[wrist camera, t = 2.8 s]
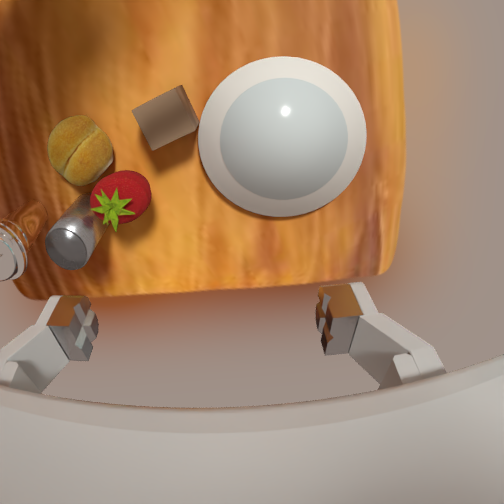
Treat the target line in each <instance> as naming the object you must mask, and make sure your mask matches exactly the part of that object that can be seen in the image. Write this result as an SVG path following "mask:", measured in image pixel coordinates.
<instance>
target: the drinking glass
mask: <svg viewBox="0 0 504 504" xmlns="http://www.w3.org/2000/svg"><path fill="white" fill-rule="evenodd" d="M91 194H92V193H84V194H82V195H80V196H79V197H78V198H77V199H76V200H75V201H74V202H73V204H72V205H71V206H70V207H69V208H68V209H67V210H66V212H65V213H64V214H63V215H62V216H61V217H60V219H59V220H58V221H57V222H56V223H55V225H54V226H53V227H52V228H51V229H50V231H49V232H48V233H47V235H46V239H45V245H46V250H47V253H48V255H49V256H50V258H51V259H52V260H53V261H54V262H55V263H56V264H57V265H58V266H60V267H62V268H64V269H68V270H76V269H80V268H82V267H83V266H84V265H85V264H86V263H87V261H88V259H89V258H90V256H91V254H92V252H93V251H94V249H95V247H96V245H97V244H98V242H99V240H100V239H101V237H102V235H103V234H104V232H105V230H106V229H107V227H108V225H109V224H110V223H108V225H107V223H105V224H104V225H103V220H101V219H99V218H98V217H97V216H96V215H95V214H94V213H93V211H92V210H90V209H91V206H90V197H91Z"/></svg>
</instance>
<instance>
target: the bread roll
mask: <svg viewBox="0 0 504 504" xmlns="http://www.w3.org/2000/svg"><path fill="white" fill-rule="evenodd" d="M47 151H48V156H49V160H50V162H51V165H52V166H53V168H54V169H55V170H56V171H57V172H58V173H59V174H61V175H62V176H63V177H64V178H66V180H67V181H69V182H70V183H72V184H74V185H77V186H85V185H87V184H89V183H91V182H94V181H96V180H97V179H98V178H99V177H100V176H101V175H102V174H103V173H104V171H105V170H107V168H108V167H109V165H110V164H111V163H112V162H113V147H112V143H111V141H110V139H109V138H108V136H107V135H106V134H105V133H104V132H103V131H102V130H101V129H100V128H99V127H98V126H97V125H96V124H95V123H94V121H93V120H92V119H91V118H89V117H88V116H85V115H76V116H71V117H68V118H66V119H64V120H62V121H61V122H59V123H58V124H57V125H56V127H55V128H54V129H53V131H52V132H51V134H50V136H49V140H48V145H47Z"/></svg>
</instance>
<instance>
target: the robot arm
mask: <svg viewBox="0 0 504 504" xmlns="http://www.w3.org/2000/svg"><path fill="white" fill-rule="evenodd" d="M318 297H319V301H320V302H319V303H318V304H317V305H316V324H317V329H318V331H319V332H320V333H321V334H322V337H321V343H322V347H323V350H324V354H325V355H335V354H345V353H349V355H350V356H351V357H352V358H353V359H354V360H355V361H356V362H357V363H358V364H359V365H360V366H361V367H362V368H363V369H365V370H366V371H367V372H368V373H369V374H370V375H371V376H372V377H373V378H374V379H375V380H376V381H377V382H378V383H379V384H380V386H379V388H378V390H375V391H370V392H365V393H359V394H353V395H348V396H341V397H335V398H328V399H321V400H313V401H305V402H296V403H287V404H275V405H263V406H249V407H226V408H225V407H224V408H168V407H145V406H131V405H118V404H108V403H98V402H89V401H82V400H75V399H67V398H61V397H55V396H50V395H44V394H42V391H43V390H44V389H45V388H46V387H47V386H48V385H49V384H50V382H51V381H52V380H53V379H54V378H55V377H56V376H57V375H58V374H59V372H60V371H61V370H62V369H63V368H64V367H65V366H66V365H67V363H68V362H69V360H76V361H89V357H90V355H91V352H92V349H93V346H92V344H91V342H92V341H93V340H94V339H96V337H97V334H98V325H99V324H98V319H97V316H96V314H95V313H94V312H93V311H92V310H90V306H91V303H90V301H89V299H88V297H86V296H66V295H63V296H57V295H53V296H51V297H50V298H49V300H48V301H47V303H46V305H45V307H44V309H43V311H42V312H41V314H40V316H39V318H38V320H37V322H36V324H35V325H31V326H30V327H29V328H27V329H26V330H25V331H23V332H22V333H21V334H19V335H18V336H17V337H16V338H14V339H13V340H12V341H10V342H9V343H8V344H7V345H5V346H4V347H3V348H2V349H0V504H504V354H503V355H500V356H498V357H495V358H492V359H489V360H486V361H483V362H481V363H478V364H475V365H471V366H468V367H465V368H462V369H459V370H456V371H452V372H449V373H446V371H445V369H444V367H443V365H442V363H441V361H440V359H439V357H438V355H437V353H436V351H435V349H434V347H433V346H432V345H430V344H429V343H427V342H425V341H424V340H423V339H421V338H419V337H418V336H416V335H415V334H413V333H412V332H410V331H409V330H407V329H406V328H404V327H403V326H401V325H400V324H398V323H396V322H395V321H393V320H392V319H390V318H389V317H388V316H386V315H385V314H383V313H381V314H379V313H378V311H377V309H376V307H375V305H374V303H373V301H372V299H371V297H370V295H369V293H368V291H367V289H366V287H365V285H364V284H363V283H362V282H355V283H348V284H338V285H325V286H320V287H319V290H318Z"/></svg>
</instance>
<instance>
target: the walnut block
mask: <svg viewBox="0 0 504 504" xmlns="http://www.w3.org/2000/svg"><path fill="white" fill-rule="evenodd" d="M132 113H133V115H134V116H135V118H136V120H137V122H138V124H139V126H140V128H141V130H142V132H143V134H144V136H145V138H146V140H147V141H148V143H149V145H150V147H151V149H152V151H153V150H155V149H157V148H159V147H162V146H164V145H166V144H168V143H170V142H172V141H174V140H176V139H178V138H180V137H183V136H185V135H187V134H189V133H191V132H193V131H195V130H196V128H197V126H198V124H199V120H198V118H197V116H196V113H195V111H194V109H193V107H192V105H191V103H190V101H189V99H188V97H187V94H186V92H185V90H184V88H183V86H182V85H180V86H178V87H176V88H174V89H172V90H170V91H168V92H166V93H164V94H162V95H160V96H158V97H156V98H154V99H152V100H150V101H148V102H146V103H144V104H142V105H141V106H139V107H137V108H135V109H133V110H132Z"/></svg>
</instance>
